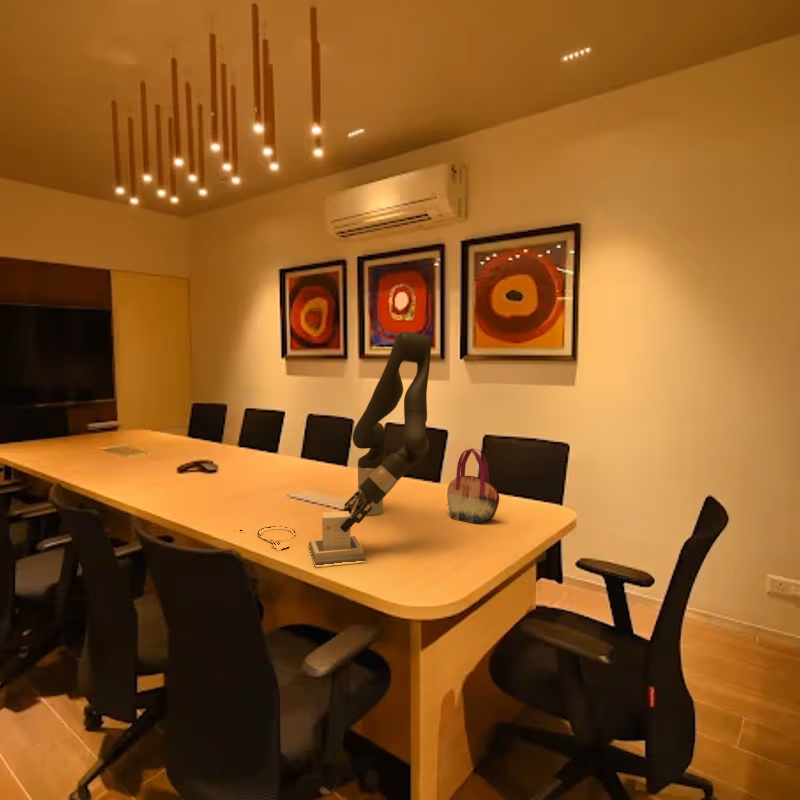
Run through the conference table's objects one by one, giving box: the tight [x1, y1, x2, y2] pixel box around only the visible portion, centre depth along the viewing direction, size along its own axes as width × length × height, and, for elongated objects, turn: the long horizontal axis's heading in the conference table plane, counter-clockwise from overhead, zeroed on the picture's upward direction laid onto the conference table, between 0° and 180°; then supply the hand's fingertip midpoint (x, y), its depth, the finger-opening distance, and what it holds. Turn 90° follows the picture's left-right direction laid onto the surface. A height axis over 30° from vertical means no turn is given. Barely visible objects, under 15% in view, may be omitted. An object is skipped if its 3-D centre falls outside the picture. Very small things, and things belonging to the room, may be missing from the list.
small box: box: [321, 510, 351, 551], centre depth 155 cm, size 8×6×10 cm
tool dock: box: [308, 535, 367, 566], centre depth 155 cm, size 17×14×3 cm
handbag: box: [445, 448, 500, 524], centre depth 190 cm, size 21×10×25 cm, turn 52°
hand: (340, 525), depth 155 cm, fingers open, 8 cm apart
